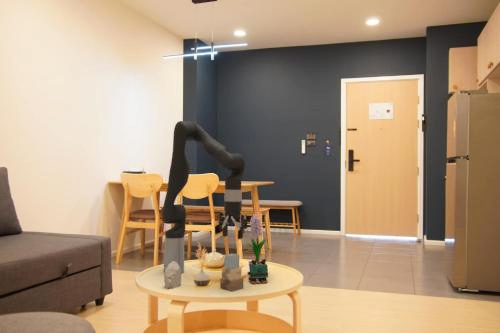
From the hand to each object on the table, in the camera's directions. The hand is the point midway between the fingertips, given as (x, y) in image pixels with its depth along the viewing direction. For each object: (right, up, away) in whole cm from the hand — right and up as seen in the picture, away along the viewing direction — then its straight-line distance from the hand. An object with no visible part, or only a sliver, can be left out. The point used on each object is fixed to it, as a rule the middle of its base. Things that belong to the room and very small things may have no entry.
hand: (232, 237), depth 189 cm
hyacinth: (+11, -22, +19) cm, 31 cm away
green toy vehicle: (+11, -22, +12) cm, 27 cm away
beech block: (0, -18, 0) cm, 18 cm away
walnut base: (0, -22, 0) cm, 22 cm away
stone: (-26, -22, +2) cm, 34 cm away
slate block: (0, -13, 0) cm, 13 cm away
